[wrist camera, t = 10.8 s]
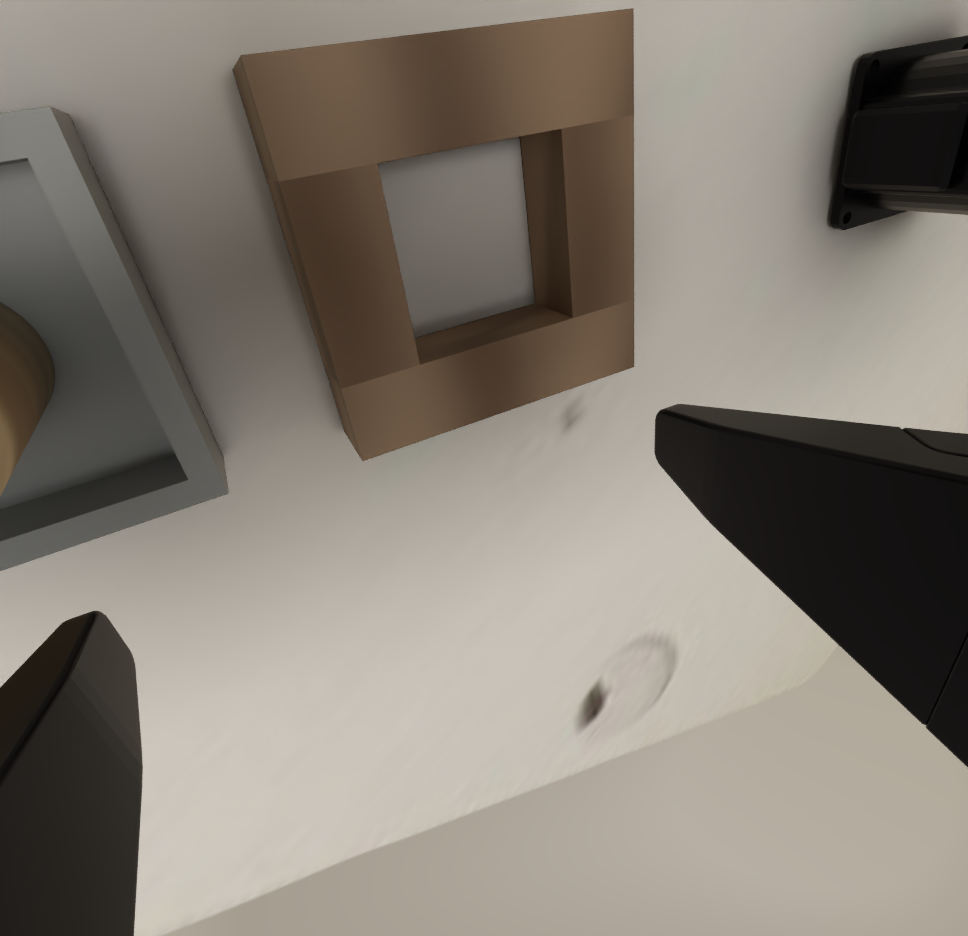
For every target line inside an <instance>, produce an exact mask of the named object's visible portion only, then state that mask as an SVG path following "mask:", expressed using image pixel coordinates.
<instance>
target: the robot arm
mask: <svg viewBox="0 0 968 936" xmlns="http://www.w3.org/2000/svg"><path fill="white" fill-rule="evenodd" d="M906 211H919V212H934V213H948V214H963V215H968V36H963V37H956V38H951V39H945V40H939V41H933V42H928V43H922V44H916V45H910V46H905V47H899V48H893V49H887V50H882V51H876V52H870V53H867V54H865V55H863V56H862V58H861V59H860V61H859V63H858V65H857V69H856V74H855V80H854V86H853V92H852V97H851V103H850V109H849V115H848V121H847V127H846V133H845V139H844V145H843V151H842V157H841V163H840V168H839V174H838V180H837V186H836V192H835V198H834V204H833V210H832V216H831V226H832V228H833V229H839V230H846V229H849V228H853V227H856V226H859V225H863V224H866V223H869V222H873V221H876V220H879V219H883V218H886V217H889V216H893V215H896V214H899V213H903V212H906ZM655 456H656V459H657V461H658V463H659V464H660V466H661V467H662V468H663V469H664V470H665V472H666V473H667V474H668V475H669V476H670V477H671V479H672V480H673V481H674V482H675V483H676V484H677V486H678V487H679V488H680V489H681V490H682V491H683V493H684V494H685V495H686V496H687V497H688V498H689V499H690V501H691V502H692V503H693V504H694V505H695V506H696V508H697V509H698V510H699V511H700V512H701V513H702V515H703V516H704V517H705V518H706V519H707V520H708V521H709V522H710V523H711V524H712V525H713V526H714V527H715V528H716V529H717V530H718V531H719V532H720V533H721V534H722V535H723V536H724V537H725V538H726V539H727V540H728V541H729V542H730V543H732V544H733V545H734V546H735V547H736V548H737V549H738V550H739V551H740V552H741V553H742V554H743V555H744V556H745V557H746V558H747V559H748V560H750V561H751V562H752V563H753V564H754V565H755V566H756V567H757V568H758V569H759V570H760V571H761V572H762V573H763V574H764V575H765V576H766V577H767V578H769V579H770V580H771V581H772V582H773V583H774V584H775V585H776V586H777V587H778V588H779V589H780V590H781V591H782V592H783V593H784V594H785V595H787V596H788V597H789V598H790V599H791V600H792V601H793V602H794V603H795V604H796V605H797V606H798V607H799V608H800V609H801V610H802V611H803V612H805V613H806V614H807V615H808V616H809V617H810V618H811V619H812V620H813V621H814V622H815V623H816V624H817V625H818V626H819V627H820V628H821V629H823V630H824V631H825V632H826V633H827V634H828V635H829V636H830V637H831V638H832V639H833V640H834V641H835V642H836V643H837V644H838V645H839V646H841V647H842V648H843V649H844V650H845V651H846V652H847V653H848V654H849V655H850V656H851V657H852V658H853V659H855V661H856V662H857V663H858V664H860V665H861V666H862V667H863V668H864V669H865V670H866V671H867V672H868V673H869V674H870V675H871V676H872V677H873V678H874V679H875V680H876V681H878V682H879V683H880V684H881V685H882V686H883V687H884V688H885V689H886V690H887V691H888V692H889V693H890V694H891V695H892V696H893V697H894V698H896V699H897V700H898V701H899V702H900V703H901V704H902V705H903V706H904V707H905V708H906V709H907V710H908V711H909V712H910V713H911V714H912V715H913V716H915V717H916V718H917V719H918V720H919V721H920V722H921V723H922V724H924V725H926V728H927V729H928V730H929V731H930V732H931V733H932V734H933V735H934V736H935V737H936V738H937V739H938V740H940V742H941V743H943V744H944V745H945V746H946V747H947V748H948V749H949V750H950V751H951V752H952V753H953V754H954V755H955V756H956V757H957V758H958V759H960V760H961V761H962V762H963V763H964V764H965V765H966V766H967V767H968V434H962V433H952V432H941V431H931V430H921V429H912V428H904V429H901V428H899V427H892V426H883V425H874V424H864V423H855V422H845V421H836V420H827V419H817V418H808V417H799V416H789V415H780V414H770V413H761V412H752V411H742V410H733V409H724V408H714V407H705V406H695V405H686V404H677V405H673V406H671V407H668V408H665V409H662V410H660V411H659V412H658V413H657V416H656V419H655ZM142 770H143V766H142V747H141V734H140V721H139V708H138V695H137V682H136V669H135V662H134V659H133V656H132V654H131V651H130V650H129V648H128V647H127V645H126V644H125V642H124V641H123V639H122V638H121V636H120V635H119V634H118V632H117V631H116V629H115V628H114V626H113V625H112V623H111V622H110V620H109V619H108V618H107V616H106V615H104V614H103V613H102V612H100V611H92V612H89V613H86V614H83V615H81V616H78V617H75V618H72V619H69V620H67V621H65V622H63V623H62V624H61V625H60V626H59V627H58V628H57V629H56V630H55V631H54V632H53V633H52V634H51V635H50V636H49V638H48V639H47V640H46V641H45V642H44V643H43V644H42V645H41V646H40V647H39V648H38V649H37V650H36V651H35V652H34V653H33V654H32V655H31V656H30V657H29V658H28V659H27V660H26V661H25V663H24V664H23V665H22V666H21V667H20V668H19V669H18V670H17V671H16V672H15V673H14V674H13V675H12V676H11V677H10V678H9V679H8V680H7V681H6V682H5V683H4V684H3V685H2V687H1V688H0V936H134V921H135V903H136V885H137V868H138V850H139V832H140V814H141V796H142Z"/></svg>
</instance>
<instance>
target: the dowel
mask: <svg viewBox="0 0 968 936" xmlns="http://www.w3.org/2000/svg"><path fill="white" fill-rule="evenodd" d="M54 384H55V370H54V364H53V360H52V357H51V354H50V352H49V350H48V348H47V346H46V344H45V342H44V341H43V339H42V338H41V336H40V335H39V334H38V333H37V331H36V330H35V329H34V328H33V327H32V326H31V325H30V324H29V323H28V322H27V321H26V320H25V319H24V318H23V317H22V316H20V315H19V314H18V313H16V312H15V311H14V310H12V309H11V308H9V307H8V306H6V305H4V304H3V303H1V302H0V496H1V494H2V492H3V490H4V488H5V486H6V485H7V483H8V481H9V479H10V477H11V475H12V473H13V471H14V469H15V467H16V465H17V463H18V461H19V459H20V457H21V455H22V453H23V451H24V449H25V448H26V446H27V444H28V442H29V440H30V438H31V436H32V434H33V432H34V430H35V428H36V426H37V424H38V422H39V420H40V418H41V416H42V414H43V413H44V411H45V409H46V407H47V405H48V403H49V401H50V399H51V396H52V393H53V390H54Z"/></svg>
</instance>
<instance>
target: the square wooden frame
mask: <svg viewBox="0 0 968 936" xmlns="http://www.w3.org/2000/svg"><path fill="white" fill-rule="evenodd" d="M233 73H234V76H235V80H236V83H237V86H238V89H239V92H240V96H241V99H242V102H243V105H244V109H245V112H246V115H247V118H248V122H249V125H250V128H251V131H252V134H253V138H254V141H255V144H256V147H257V151H258V154H259V157H260V160H261V164H262V167H263V170H264V173H265V177H266V180H267V183H268V186H269V189H270V193H271V196H272V199H273V202H274V206H275V209H276V212H277V215H278V219H279V222H280V225H281V228H282V231H283V235H284V238H285V241H286V244H287V248H288V251H289V254H290V257H291V261H292V264H293V267H294V270H295V273H296V277H297V280H298V283H299V286H300V290H301V293H302V296H303V299H304V303H305V306H306V309H307V312H308V315H309V319H310V322H311V325H312V328H313V332H314V335H315V338H316V341H317V345H318V348H319V351H320V354H321V357H322V361H323V364H324V367H325V370H326V374H327V377H328V380H329V383H330V387H331V390H332V393H333V396H334V399H335V403H336V406H337V409H338V412H339V416H340V419H341V422H342V425H343V429H344V431H345V433H346V435H347V436H348V438H349V440H350V441H351V443H352V445H353V446H354V448H355V450H356V451H357V453H358V455H359V456H360V458H361V459H362V461H364V460H367V459H370V458H373V457H376V456H379V455H382V454H385V453H387V452H390V451H393V450H396V449H399V448H402V447H405V446H408V445H410V444H413V443H416V442H419V441H422V440H425V439H428V438H431V437H433V436H436V435H439V434H442V433H445V432H448V431H451V430H454V429H456V428H459V427H462V426H465V425H468V424H471V423H474V422H477V421H479V420H482V419H485V418H488V417H491V416H494V415H497V414H500V413H502V412H505V411H508V410H511V409H514V408H517V407H520V406H523V405H525V404H528V403H531V402H534V401H537V400H540V399H543V398H546V397H548V396H551V395H554V394H557V393H560V392H563V391H566V390H569V389H572V388H574V387H577V386H580V385H583V384H586V383H589V382H592V381H595V380H597V379H600V378H603V377H606V376H609V375H612V374H615V373H618V372H620V371H623V370H626V369H629V368H632V367H634V53H633V9H624V10H616V11H608V12H599V13H591V14H583V15H574V16H566V17H557V18H549V19H541V20H532V21H524V22H516V23H507V24H499V25H491V26H482V27H474V28H466V29H457V30H449V31H441V32H432V33H424V34H416V35H407V36H399V37H391V38H382V39H374V40H366V41H357V42H349V43H340V44H332V45H324V46H315V47H307V48H299V49H290V50H282V51H274V52H265V53H257V54H249V55H241V56H240V58H239V60H238V61H237V63H236V65H235V66H234V68H233ZM519 136H520V142H521V153H522V163H523V174H524V185H525V195H526V206H527V217H528V227H529V238H530V249H531V259H532V270H533V281H534V291H535V302H536V303H535V304H531V305H528V306H525V307H521V308H518V309H514V310H511V311H507V312H504V313H500V314H497V315H493V316H490V317H486V318H483V319H480V320H476V321H473V322H469V323H466V324H462V325H459V326H455V327H452V328H448V329H445V330H442V331H438V332H435V333H431V334H428V335H424V336H421V337H417V338H414V334H413V329H412V324H411V320H410V315H409V310H408V306H407V301H406V296H405V292H404V287H403V282H402V278H401V273H400V268H399V263H398V259H397V254H396V249H395V245H394V240H393V235H392V231H391V226H390V221H389V217H388V212H387V207H386V203H385V198H384V193H383V189H382V184H381V179H380V175H379V170H378V165H377V163H381V162H386V161H391V160H397V159H402V158H407V157H413V156H418V155H423V154H429V153H434V152H439V151H445V150H450V149H455V148H461V147H466V146H471V145H477V144H482V143H487V142H493V141H498V140H503V139H509V138H514V137H519Z"/></svg>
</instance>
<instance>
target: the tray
mask: <svg viewBox="0 0 968 936" xmlns="http://www.w3.org/2000/svg"><path fill="white" fill-rule="evenodd" d="M0 302H1V303H3V304H4V305H6V306H8V307H9V308H11V309H12V310H14V311H15V312H16V313H18V314H19V315H20V316H22V317H23V318H24V319H25V320H26V321H27V322H28V323H29V324H30V325H31V326H32V327H33V328H34V329H35V330H36V331H37V333H38V334H39V335H40V336H41V338H42V339H43V341H44V342H45V344H46V346H47V348H48V350H49V352H50V354H51V357H52V360H53V364H54V370H55V384H54V390H53V393H52V396H51V399H50V401H49V403H48V405H47V407H46V409H45V411H44V413H43V414H42V416H41V418H40V420H39V422H38V424H37V426H36V428H35V430H34V432H33V434H32V436H31V438H30V440H29V442H28V444H27V446H26V448H25V449H24V451H23V453H22V455H21V457H20V459H19V461H18V463H17V465H16V467H15V469H14V471H13V473H12V475H11V477H10V479H9V481H8V483H7V485H6V486H5V488H4V490H3V492H2V494H1V496H0V571H2V570H5V569H8V568H11V567H14V566H17V565H19V564H22V563H25V562H28V561H31V560H34V559H37V558H40V557H43V556H46V555H49V554H52V553H55V552H58V551H61V550H64V549H66V548H69V547H72V546H75V545H78V544H81V543H84V542H87V541H90V540H93V539H96V538H99V537H102V536H105V535H108V534H111V533H113V532H116V531H119V530H122V529H125V528H128V527H131V526H134V525H137V524H140V523H143V522H146V521H149V520H152V519H155V518H158V517H160V516H163V515H166V514H169V513H172V512H175V511H178V510H181V509H184V508H187V507H190V506H193V505H196V504H199V503H202V502H205V501H207V500H210V499H213V498H216V497H219V496H222V495H225V494H228V493H229V492H228V485H227V478H226V472H225V465H224V458H223V456H222V453H221V451H220V449H219V447H218V444H217V442H216V440H215V438H214V436H213V433H212V431H211V429H210V427H209V424H208V422H207V420H206V418H205V416H204V413H203V411H202V409H201V407H200V404H199V402H198V400H197V398H196V396H195V393H194V391H193V389H192V387H191V384H190V382H189V380H188V378H187V376H186V373H185V371H184V369H183V367H182V365H181V362H180V360H179V358H178V356H177V353H176V351H175V349H174V347H173V345H172V342H171V340H170V338H169V336H168V333H167V331H166V329H165V327H164V325H163V322H162V320H161V318H160V316H159V313H158V311H157V309H156V307H155V305H154V302H153V300H152V298H151V296H150V293H149V291H148V289H147V287H146V285H145V282H144V280H143V278H142V276H141V273H140V271H139V269H138V267H137V265H136V262H135V260H134V258H133V256H132V253H131V251H130V249H129V247H128V245H127V242H126V240H125V238H124V236H123V233H122V231H121V229H120V227H119V225H118V222H117V220H116V218H115V216H114V214H113V211H112V209H111V207H110V205H109V202H108V200H107V198H106V196H105V194H104V191H103V189H102V187H101V185H100V182H99V180H98V178H97V176H96V174H95V171H94V169H93V167H92V165H91V162H90V160H89V158H88V156H87V154H86V151H85V149H84V147H83V145H82V142H81V140H80V138H79V136H78V134H77V131H76V129H75V127H74V125H73V122H72V120H71V118H70V116H69V114H67V113H64V112H62V111H60V110H57V109H55V108H52V107H50V106H49V107H42V108H34V109H27V110H19V111H12V112H4V113H0Z"/></svg>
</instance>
